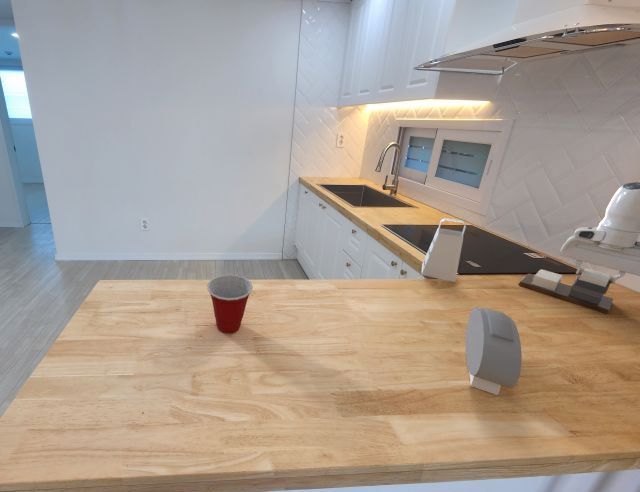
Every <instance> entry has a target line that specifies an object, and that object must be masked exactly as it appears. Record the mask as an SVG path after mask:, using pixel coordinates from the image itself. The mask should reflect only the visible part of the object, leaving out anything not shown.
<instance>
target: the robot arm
mask: <svg viewBox="0 0 640 492" xmlns="http://www.w3.org/2000/svg"><path fill="white" fill-rule="evenodd" d="M639 238H640V182H638V181H637V182H627V183H624V184H622V185H621V186H620V187H618V189H617V190H616V191H615V193H614V194H613V196H612V197H611V199H610V202H608V205H607V207H606V209H605V214H604V216H603V218H602V220H601V221H600V222H599V224H598V225H597V226H580V227H577V228H576V229H575V230H574V232H573V234H572V235H571V236H569V237H568V238H567V239H566V241H565V242H564V243H563V245H562V247H561V248H560V250H559V251H558V252H559V255H560V256H561V257H562V258H563V257H564V258H568V259H571V260H576V261H575V266H576V272H575V274H576V275H579V276H580V275H581V274H582V272H583V271H584V269H585V268H582V266H581V265H582V263H587V264H591V265H595V266H598V267H603V268H607V269H611V270H615V271H618V272H617V275H615V276H612V275H611V276H610V278H609V281H608V283H610V284H611V285H614V284H615V283H616V281H617V280H618V279H621V278H623V277H625V275H626V274H632V275H634V276H638V277H640V241H638V239H639Z"/></svg>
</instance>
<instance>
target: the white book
mask: <svg viewBox="0 0 640 492" xmlns="http://www.w3.org/2000/svg"><path fill="white" fill-rule="evenodd" d="M583 269H584V271H583V272H582V274H581V276H580V275H579V276H580V278H579V280H582V281H586V282H589V283H593V284H597V285H600V286H604V287H606V285H607V283H608V281H609V278H610V276H612V275H611V274H610V273H607V272H602V271H599V270H595V269H590V268H587V267H585V268H583Z"/></svg>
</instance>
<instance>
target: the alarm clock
mask: <svg viewBox="0 0 640 492" xmlns="http://www.w3.org/2000/svg"><path fill="white" fill-rule="evenodd" d="M464 344H465V345H464V346H465V361H466V367H467V370H468V373H469V382H470V387H472V388H474V389H475V388H476V389H478V390H481V391H483V392H487V393H490V394H493V395H495V396H499V394H500V391H501V388H502V386H503V387H506V388H508V389H511V388H513V387H516V385H517V383H518V381H519V379H520V376H521V371H522V355H523V354H522V344H521V339H520V334H519V330H518V327H517V324H516V323H515V320H514V319H513V318H512V317H511V316H510V315H508V314H506V313H504V312H503V311H499V310H494V309H490V308H487V307H486V308H481V307H477V306H475V307H473V308H472V310H471V311H470V313H469V315H468V319H467V324H466V331H465V342H464Z"/></svg>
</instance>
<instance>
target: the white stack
mask: <svg viewBox="0 0 640 492" xmlns="http://www.w3.org/2000/svg"><path fill="white" fill-rule="evenodd" d="M534 275H535V276H534V278H533V282H532V284H534V285H537V286H540V287H543V288H546V289H549V290H553V291H555V289H556V288H557V287H558V285H559V284H560V283H562V278H563V276H564V275H563V274H559V273H557V272H556V273H555V272H552V271H549V270H547V269H542V268H541V269H539V270H538V272H536V274H534Z"/></svg>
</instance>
